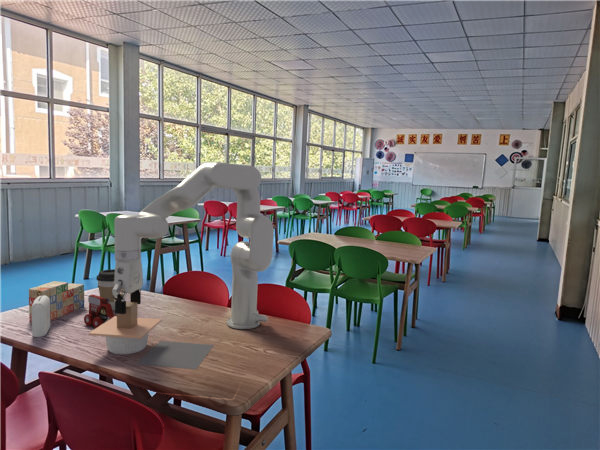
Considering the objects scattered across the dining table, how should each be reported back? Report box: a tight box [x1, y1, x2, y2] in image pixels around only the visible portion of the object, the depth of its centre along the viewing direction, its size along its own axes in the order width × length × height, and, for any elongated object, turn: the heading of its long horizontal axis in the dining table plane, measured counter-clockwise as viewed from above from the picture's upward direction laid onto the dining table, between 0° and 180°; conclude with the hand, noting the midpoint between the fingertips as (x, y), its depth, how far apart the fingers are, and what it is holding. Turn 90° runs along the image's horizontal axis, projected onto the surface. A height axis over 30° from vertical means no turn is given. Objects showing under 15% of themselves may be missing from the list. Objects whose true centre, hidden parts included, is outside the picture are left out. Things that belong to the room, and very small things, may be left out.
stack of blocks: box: [28, 280, 85, 322], centre depth 164 cm, size 21×6×12 cm, turn 169°
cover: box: [88, 301, 163, 339], centre depth 134 cm, size 16×16×8 cm
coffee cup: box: [95, 268, 124, 311], centre depth 173 cm, size 11×11×15 cm
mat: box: [135, 340, 215, 370], centre depth 132 cm, size 18×18×1 cm
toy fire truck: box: [83, 294, 116, 329], centre depth 154 cm, size 7×12×10 cm, turn 60°
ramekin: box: [105, 332, 150, 355], centre depth 135 cm, size 13×13×7 cm
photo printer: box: [31, 295, 51, 338], centre depth 144 cm, size 10×4×12 cm, turn 20°
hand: (128, 308), depth 134 cm, fingers open, 9 cm apart
